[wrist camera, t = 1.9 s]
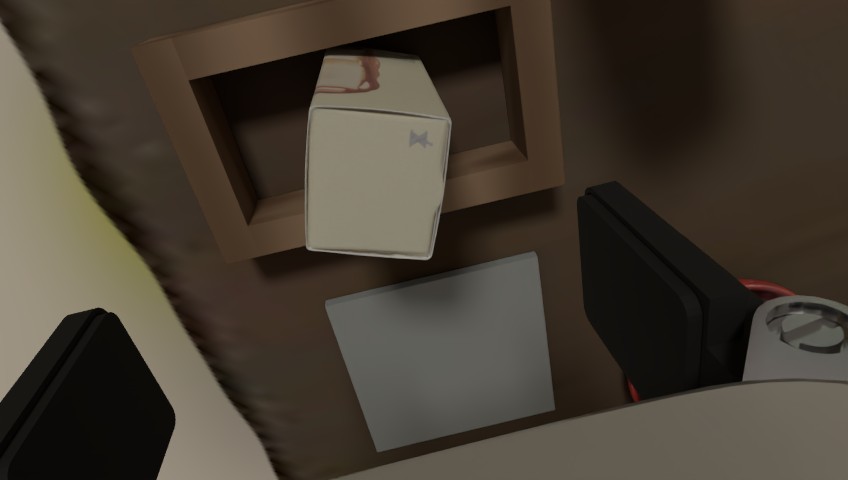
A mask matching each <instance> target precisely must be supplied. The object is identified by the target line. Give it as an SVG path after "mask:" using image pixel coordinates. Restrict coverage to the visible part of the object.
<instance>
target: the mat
mask: <svg viewBox="0 0 848 480" xmlns="http://www.w3.org/2000/svg"><path fill="white" fill-rule="evenodd" d="M325 308H326V310H327V313H328V316H329V319H330V322H331V324H332V327H333V330H334V333H335V336H336V338H337V341H338V344H339V347H340V349H341V352H342V355H343V358H344V361H345V363H346V366H347V369H348V372H349V375H350V377H351V380H352V383H353V386H354V389H355V391H356V394H357V397H358V400H359V402H360V405H361V408H362V411H363V414H364V416H365V419H366V422H367V425H368V428H369V430H370V433H371V436H372V439H373V441H374V444H375V447H376V450H377V452H381V451H385V450H389V449H393V448H397V447H402V446H406V445H410V444H414V443H418V442H423V441H427V440H431V439H435V438H439V437H444V436H448V435H452V434H456V433H460V432H465V431H469V430H473V429H477V428H481V427H486V426H490V425H494V424H498V423H502V422H506V421H511V420H515V419H519V418H523V417H527V416H532V415H536V414H540V413H544V412H548V411H553V410H555V404H554V396H553V387H552V378H551V370H550V361H549V352H548V344H547V335H546V326H545V318H544V309H543V301H542V292H541V283H540V275H539V266H538V257H537V255H536V253H535V252H534V251H533V252H529V253H524V254H520V255H516V256H512V257H507V258H503V259H499V260H495V261H491V262H486V263H482V264H478V265H474V266H469V267H465V268H461V269H457V270H452V271H448V272H444V273H440V274H435V275H431V276H427V277H423V278H419V279H414V280H410V281H406V282H402V283H397V284H393V285H389V286H385V287H380V288H376V289H372V290H368V291H364V292H359V293H355V294H351V295H347V296H342V297H338V298H334V299H330V300H326V302H325Z"/></svg>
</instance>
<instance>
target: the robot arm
mask: <svg viewBox="0 0 848 480" xmlns="http://www.w3.org/2000/svg"><path fill="white" fill-rule="evenodd" d="M577 212H578V226H579V241H580V256H581V271H582V285H583V300H584V309H585V312H586V316H587V318H588V320H589V322H590V324H591V325H592V327H593V328H594V330H595V331H596V332H597V334H598V335H599V337H600V338H601V340H602V341H603V343H604V344H605V346H606V347H607V349H608V350H609V352H610V353H611V355H612V356H613V358H614V359H615V361H616V362H617V363H618V365H619V366H620V368H621V369H622V371H623V372H624V374H625V375H626V377H627V378H628V380H629V381H630V383H631V384H632V386H633V387H634V389H635V390H636V392H637V393H638V394H639V396H640V397H641V399H642V400H643V401H638V402H634V403H629V404H625V405H621V406H617V407H613V408H609V409H605V410H601V411H597V412H593V413H589V414H585V415H581V416H577V417H573V418H569V419H565V420H561V421H557V422H553V423H549V424H545V425H541V426H537V427H533V428H529V429H525V430H521V431H517V432H513V433H509V434H505V435H501V436H497V437H493V438H489V439H485V440H481V441H477V442H473V443H469V444H465V445H462V446H458V447H454V448H450V449H446V450H442V451H438V452H434V453H430V454H426V455H422V456H418V457H414V458H410V459H406V460H402V461H399V462H395V463H391V464H387V465H383V466H379V467H375V468H371V469H367V470H363V471H359V472H355V473H352V474H348V475H344V476H340V477H336V478H332V479H328V480H848V306H845V305H843V304H840V303H837V302H835V301H832V300H827V299H823V298H818V297H812V296H798V295H795V296H785V297H778V298H775V299H772V300H769V301H766V302H764V301H763V300H761V299H760V298H759V297H758V296H757V295H755V294H754V293H753V292H752V291H751V290H749V289H748V288H747V287H746V286H744V285H743V284H742V283H741V282H740V281H738V280H737V279H736V278H735V277H733V276H732V275H731V274H730V273H729V272H727V271H726V270H725V269H724V268H722V267H721V266H720V265H719V264H718V263H716V262H715V261H714V260H713V259H712V258H710V257H709V256H708V255H707V254H705V253H704V252H703V251H702V250H701V249H699V248H698V247H697V246H696V245H694V244H693V243H692V242H691V241H690V240H688V239H687V238H686V237H685V236H683V235H682V234H680V233H679V232H678V231H677V230H675V229H674V228H673V227H672V226H671V225H669V224H668V223H667V222H666V221H665V220H663V219H662V218H661V217H660V216H658V215H657V214H656V213H655V212H654V211H652V210H651V209H650V208H649V207H647V206H646V205H645V204H644V203H643V202H641V201H640V200H639V199H638V198H637V197H635V196H634V195H633V194H632V193H630V192H629V191H628V190H627V189H626V188H624V187H623V186H622V185H621V184H620V183H618V182H616V181H613V182H609V183H605V184H601V185H596V186H592V187H588V188H587V189H586V190H585V196H581V197H579V198H578V200H577ZM175 420H176V419H175V413H174V410H173V408H172V406H171V404H170V403H169V401H168V399H167V398H166V396H165V394H164V393H163V391H162V389H161V387H160V386H159V384H158V383H157V381H156V379H155V377H154V376H153V374H152V372H151V371H150V369H149V368H148V366H147V364H146V362H145V361H144V359H143V358H142V356H141V354H140V352H139V351H138V349H137V347H136V346H135V345H134V343H133V341H132V339H131V338H130V336H129V334H128V333H127V331H126V329H125V328H124V326H123V324H122V323H121V321H120V319H119V318H118V316H117V315H115V314H114V313H112V312H109V313H108V312H107V311H105V310H104V309H102V308H95V309H91V310H87V311H83V312H79V313H75V314H71V315H67V316H66V317H65V318H64V319H63V320H62V322H61V323H60V324H59V326H58V327H57V328H56V330H55V331H54V332H53V334H52V335H51V336H50V337H49V339H48V340H47V341H46V343H45V344H44V346H43V347H42V348H41V350H40V351H39V352H38V353H37V355H36V356H35V357H34V359H33V360H32V361H31V363H30V364H29V365H28V367H27V368H26V369H25V371H24V372H23V373H22V375H21V376H20V377H19V379H18V380H17V381H16V383H15V384H14V385H13V387H12V388H11V389H10V391H9V392H8V393H7V394H6V396H5V397H4V398H3V400H2V401H1V402H0V480H156V479H157V476H158V473H159V471H160V468H161V465H162V462H163V459H164V456H165V453H166V450H167V448H168V445H169V442H170V439H171V436H172V433H173V430H174V427H175Z"/></svg>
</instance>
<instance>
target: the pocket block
mask: <svg viewBox="0 0 848 480" xmlns="http://www.w3.org/2000/svg"><path fill="white" fill-rule="evenodd" d="M493 9H494V11H495V18H496V26H497V34H498V42H499V50H500V58H501V65H502V73H503V81H504V89H505V97H506V105H507V112H508V120H509V128H510V136H511V141H507V142H503V143H498V144H494V145H490V146H485V147H481V148H477V149H473V150H468V151H464V152H460V153H456V154H451V155H448V164H447V172H446V181H445V188H444V196H443V201H442V207H441V212H440V214H442V213H446V212H450V211H455V210H459V209H463V208H467V207H472V206H476V205H480V204H484V203H489V202H493V201H497V200H501V199H506V198H510V197H514V196H518V195H523V194H527V193H531V192H535V191H540V190H544V189H548V188H552V187H557V186H561V185H565V177H564V164H563V152H562V139H561V127H560V115H559V102H558V90H557V77H556V65H555V52H554V40H553V28H552V15H551V3H550V0H313V1H309V2H305V3H300V4H296V5H292V6H287V7H283V8H279V9H274V10H270V11H266V12H261V13H257V14H253V15H249V16H244V17H240V18H236V19H231V20H227V21H223V22H218V23H214V24H210V25H205V26H201V27H197V28H192V29H188V30H184V31H180V32H175V33H171V34H167V35H162V36H158V37H154V38H152V39H150V40H147V41H145V42H142V43H140V44H138V45H135V46H133V47H131V48H130V50H131V52H132V54H133V56H134V59H135V61H136V63H137V65H138V68H139V70H140V72H141V74H142V77H143V79H144V81H145V83H146V85H147V88H148V90H149V92H150V94H151V97H152V99H153V101H154V103H155V106H156V108H157V110H158V112H159V115H160V117H161V119H162V121H163V123H164V126H165V128H166V130H167V132H168V135H169V137H170V139H171V141H172V144H173V146H174V148H175V150H176V153H177V155H178V157H179V159H180V161H181V164H182V166H183V168H184V170H185V173H186V175H187V177H188V179H189V182H190V184H191V186H192V188H193V191H194V193H195V195H196V197H197V199H198V202H199V204H200V206H201V208H202V211H203V213H204V215H205V217H206V220H207V222H208V224H209V226H210V228H211V231H212V233H213V235H214V237H215V240H216V242H217V244H218V246H219V249H220V251H221V253H222V255H223V258H224V260H225V262H226V264H229V263H234V262H238V261H242V260H246V259H251V258H255V257H259V256H263V255H268V254H272V253H276V252H280V251H285V250H289V249H293V248H297V247H302V246H306V234H305V189H302V190H298V191H294V192H289V193H285V194H281V195H277V196H272V197H268V198H264V199H260V200H258V198H257V196H256V193H255V191H254V188H253V185H252V183H251V180H250V178H249V175H248V173H247V170H246V167H245V165H244V162H243V160H242V157H241V154H240V152H239V149H238V147H237V144H236V142H235V139H234V136H233V134H232V131H231V129H230V126H229V123H228V121H227V118H226V116H225V113H224V111H223V108H222V105H221V103H220V100H219V98H218V95H217V92H216V90H215V87H214V85H213V82H212V80H211V77H210V75H214V74H218V73H223V72H227V71H231V70H235V69H240V68H244V67H248V66H253V65H257V64H261V63H266V62H270V61H274V60H278V59H283V58H287V57H291V56H296V55H300V54H304V53H309V52H313V51H317V50H321V49H326V48H330V47H334V46H339V45H343V44H347V43H352V42H356V41H360V40H364V39H369V38H373V37H377V36H382V35H386V34H390V33H395V32H399V31H403V30H407V29H412V28H416V27H420V26H425V25H429V24H433V23H437V22H442V21H446V20H450V19H455V18H459V17H463V16H468V15H472V14H476V13H480V12H485V11H489V10H493Z"/></svg>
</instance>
